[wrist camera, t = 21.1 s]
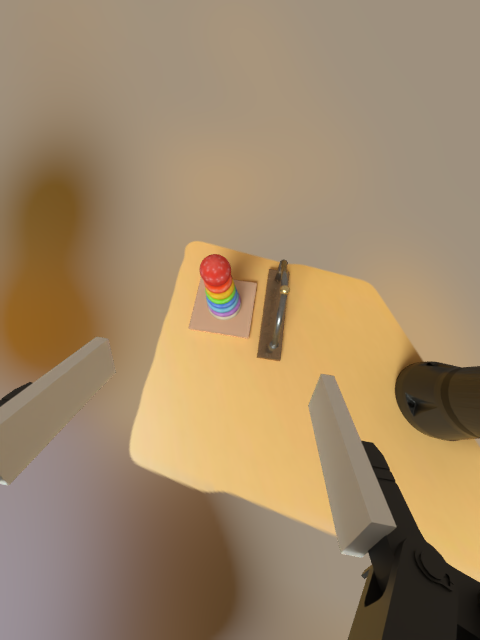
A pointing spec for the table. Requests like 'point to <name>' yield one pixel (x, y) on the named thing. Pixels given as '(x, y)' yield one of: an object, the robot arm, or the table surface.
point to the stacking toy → (220, 287)
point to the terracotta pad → (231, 327)
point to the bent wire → (274, 313)
